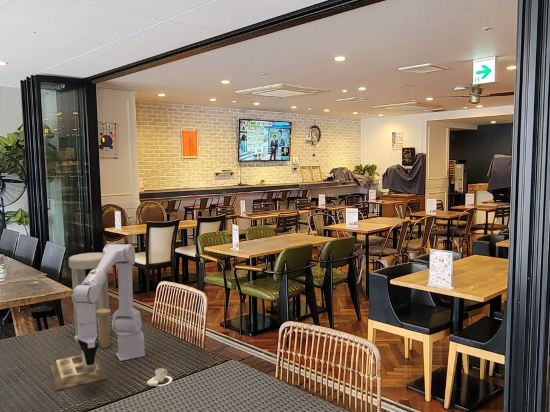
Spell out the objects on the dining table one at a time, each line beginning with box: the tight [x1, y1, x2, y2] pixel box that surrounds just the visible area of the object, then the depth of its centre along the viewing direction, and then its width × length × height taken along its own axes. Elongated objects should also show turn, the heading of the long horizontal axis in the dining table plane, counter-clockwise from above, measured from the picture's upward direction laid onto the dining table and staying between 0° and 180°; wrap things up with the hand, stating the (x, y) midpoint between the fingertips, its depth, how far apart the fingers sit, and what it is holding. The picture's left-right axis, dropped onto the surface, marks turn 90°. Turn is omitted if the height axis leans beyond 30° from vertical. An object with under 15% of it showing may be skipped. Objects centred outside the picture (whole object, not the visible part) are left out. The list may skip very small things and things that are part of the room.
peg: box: [81, 350, 97, 373], centre depth 158 cm, size 4×4×7 cm
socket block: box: [49, 354, 108, 392], centre depth 171 cm, size 16×22×3 cm
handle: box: [96, 308, 112, 349], centre depth 194 cm, size 5×6×15 cm
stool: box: [68, 252, 111, 343], centre depth 205 cm, size 16×16×35 cm
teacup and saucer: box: [146, 368, 173, 387], centre depth 164 cm, size 9×8×4 cm
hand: (89, 362), depth 159 cm, fingers closed on peg, 4 cm apart
